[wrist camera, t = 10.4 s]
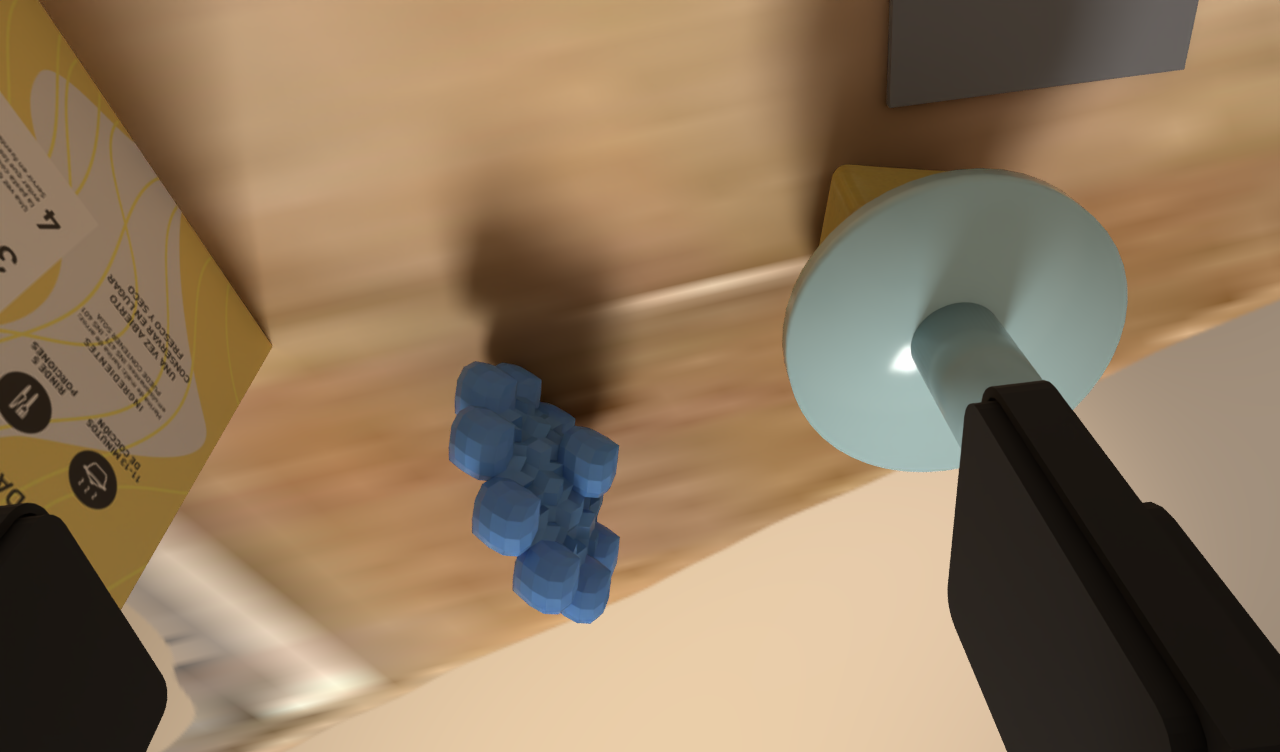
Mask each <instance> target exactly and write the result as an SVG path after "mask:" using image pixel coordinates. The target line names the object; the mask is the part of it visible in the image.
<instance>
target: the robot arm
mask: <svg viewBox="0 0 1280 752" xmlns="http://www.w3.org/2000/svg"><path fill="white" fill-rule="evenodd" d="M948 603H949V609H950V613H951V617H952V620H953V623H954V626H955V629H956V631H957V633H958V636H959V638H960V641H961V643H962V645H963V648H964V650H965V652H966V655H967V657H968V660H969V662H970V664H971V667H972V669H973V671H974V674H975V676H976V678H977V681H978V683H979V686H980V688H981V690H982V693H983V695H984V698H985V700H986V702H987V705H988V707H989V710H990V712H991V714H992V717H993V719H994V721H995V724H996V726H997V729H998V731H999V733H1000V736H1001V738H1002V741H1003V743H1004V745H1005V748H1006V750H1007V752H1280V654H1279V653H1278V652H1277V650H1276V649H1275V648H1274V646H1273V645H1272V644H1271V643H1270V642H1269V640H1268V639H1267V637H1266V636H1265V635H1264V634H1263V632H1262V631H1261V630H1260V629H1259V627H1258V626H1257V625H1256V623H1255V622H1254V621H1253V619H1252V618H1251V617H1250V616H1249V614H1248V613H1247V612H1246V611H1245V609H1244V608H1243V607H1242V605H1241V604H1240V603H1239V602H1238V600H1237V599H1236V598H1235V596H1234V595H1233V594H1232V593H1231V591H1230V590H1229V589H1228V587H1227V586H1226V585H1225V583H1224V582H1223V581H1222V580H1221V578H1220V577H1219V576H1218V574H1217V573H1216V572H1215V571H1214V569H1213V568H1212V567H1211V565H1210V564H1209V563H1208V562H1207V560H1206V559H1205V558H1204V556H1203V555H1202V554H1201V553H1200V551H1199V550H1198V549H1197V547H1196V546H1195V545H1194V544H1193V542H1192V541H1191V540H1190V538H1189V537H1188V536H1187V535H1186V533H1185V532H1184V531H1183V530H1182V528H1181V527H1180V526H1179V524H1178V523H1177V522H1176V520H1175V519H1174V518H1173V517H1172V516H1171V515H1170V514H1169V513H1168V512H1167V511H1166V510H1165V509H1164V508H1163V507H1161V506H1159V505H1156V504H1155V503H1152V502H1145V503H1142V502H1141V501H1140V499H1139V498H1138V496H1137V495H1136V494H1135V493H1134V491H1133V490H1132V489H1131V487H1130V486H1129V485H1128V483H1127V482H1126V480H1125V479H1124V478H1123V476H1122V475H1121V474H1120V473H1119V471H1118V470H1117V468H1116V467H1115V466H1114V464H1113V463H1112V462H1111V461H1110V459H1109V458H1108V457H1107V455H1106V454H1105V453H1104V451H1103V450H1102V448H1101V447H1100V446H1099V444H1098V443H1097V442H1096V441H1095V439H1094V438H1093V437H1092V435H1091V434H1090V433H1089V431H1088V430H1087V429H1086V428H1085V426H1084V425H1083V423H1082V422H1081V421H1080V419H1079V418H1078V417H1077V415H1076V414H1075V413H1074V411H1073V410H1072V409H1071V407H1070V406H1069V405H1068V403H1067V402H1066V401H1065V399H1064V398H1063V397H1062V395H1061V394H1060V393H1059V391H1058V390H1057V389H1056V387H1055V386H1054V385H1053V384H1052V383H1051V382H1049V381H1045V380H1040V381H1032V382H1024V383H1016V384H1007V385H999V386H991V387H988V388H987V389H986V390H985V391H984V393H983V396H982V401H981V402H979V403H971V404H969V405H968V406H967V408H966V410H965V415H964V424H963V434H962V444H961V455H960V465H959V476H958V486H957V496H956V507H955V517H954V527H953V537H952V548H951V559H950V569H949V579H948ZM166 703H167V687H166V683H165V680H164V678H163V675H162V674H161V672H160V671H159V669H158V668H157V666H156V665H155V663H154V661H153V660H152V658H151V657H150V655H149V654H148V652H147V651H146V649H145V648H144V646H143V645H142V643H141V641H140V640H139V638H138V637H137V635H136V633H135V632H134V630H133V629H132V627H131V626H130V624H129V623H128V621H127V619H126V618H125V616H124V615H123V613H122V612H121V610H120V608H119V607H118V605H117V604H116V602H115V601H114V599H113V598H112V596H111V594H110V593H109V591H108V590H107V588H106V587H105V585H104V583H103V582H102V580H101V579H100V577H99V576H98V574H97V573H96V571H95V569H94V568H93V566H92V565H91V563H90V562H89V560H88V559H87V557H86V555H85V554H84V552H83V551H82V549H81V548H80V546H79V545H78V543H77V541H76V540H75V538H74V537H73V535H72V534H71V532H70V530H69V529H68V527H67V526H66V524H65V523H64V522H63V521H62V520H61V518H59V517H57V516H55V515H50V514H49V513H48V512H47V511H46V510H45V509H44V508H43V507H41V506H39V505H37V504H36V503H20V504H12V505H4V506H0V752H146V750H147V748H148V746H149V744H150V742H151V740H152V738H153V735H154V733H155V731H156V729H157V727H158V725H159V723H160V720H161V718H162V716H163V714H164V711H165V708H166Z"/></svg>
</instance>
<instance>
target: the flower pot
mask: <svg viewBox="0 0 1280 752" xmlns="http://www.w3.org/2000/svg"><path fill="white" fill-rule="evenodd" d="M942 172H948V171H935V170H920V169H904V168H889V167H875V166H863V165H842V166H840V167H838V168H837V169H836V170H835V172H834V174H833V176H832V180H831V185H830V190H829V196H828V201H827V206H826V212H825V217H824V222H823V228H822V233H821V238H820V243H819V246H820V244H821V243H822V242H823V241H824V240H825V239H826V237H827V236H828V235H829V234H830V233H831V232H832V231H833V230H834V229H835V228H836V227H837V226H839V225H840V224H841V223H842V222H843V221H844V220H845V219H846V218H847V217H849V216H850V215H851V214H853V213H854V212H855V211H857V210H858V209H860V208H861V207H862V206H864V205H865V204H866V203H868V202H870V201H872V200H873V199H875V198H877V197H878V196H880V195H882V194H884V193H885V192H887V191H889V190H892V189H894V188H896V187H898V186H901V185H903V184H905V183H908V182H910V181H913V180H916V179H919V178H923V177H926V176H929V175H932V174H937V173H942Z"/></svg>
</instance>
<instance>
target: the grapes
mask: <svg viewBox="0 0 1280 752" xmlns="http://www.w3.org/2000/svg"><path fill="white" fill-rule="evenodd" d="M541 384H542V380H541V379H540V378H538V377H537V376H535V375H534V374H533V373H531V372H529V371H527V370H526V369H524V368H522V367H520V366H517V365H515V364H508V363H500V364H498V365H496V366H494V365H491V364H488V363H482V362H476V361H475V362H473V363H471V364H469V365H467V366H465V367H464V368H463V370H462V372H461V374H460V376H459V378H458V380H457V387H456V395H455V414H457V416H456V418H455V420H454V422H453V424H452V427H451V434H450V441H449V460H450V461H451V462H452V463H453V464H454V465H456V466H457V467H458V468H459V469H461V470H462V471H463V472H465V473H467V474H469V475H470V476H472V477H474V478H476V479H478V480H484V481H487V482H485V483H483V484H482V486H481V488H480V490H479V492H478V495H477V497H476V499H475V503H474V509H473V517H472V533H473V534H474V535H475V536H476V537H477V538H479V539H480V540H481V541H482V542H483V543H484V544H485V545H486V546H488V547H489V548H491V549H493V550H494V551H496V552H498V553H500V554H502V555H506V556H517V559H516V561H515V566H514V574H513V591H514V592H515V593H516V594H517V595H518V596H519V597H521V598H522V599H523V600H524V601H525V602H526V603H527V604H528V605H529V606H531V607H533V608H535V609H536V610H538V611H540V612H542V613H544V614H559V613H561V614H562V615H564V616H565V617H567V618H569V619H571V620H573V621H574V622H576V623H588V624H590V623H591V622H593V621H594V620H595V619H597V618H598V617H599V616H600V615H601V614H602V613H603V612H604V609H605V607H606V604H607V601H608V599H609V592H610V584H611V576H612V574H613V571H614V569H615V566H616V564H617V557H618V550H619V539H620V537H619V536H617V535H616V534H615V533H614V532H612V531H611V530H610V529H608V528H607V527H605V526H603V525H602V524H600V523H598V522H597V515H598V512H599V510H600V507H601V505H602V501H603V494H604V493H606V492H607V491H608V490H609V488H610V487H611V484H612V482H613V479H614V477H615V474H616V469H617V461H618V451H619V445H617V444H616V443H615V442H613V441H612V440H610V439H609V438H608V437H606V436H604V435H602V434H600V433H598V432H597V431H595V430H592V429H590V428H587V427H580V426H575V418H574V417H572V416H571V415H570V414H568V413H567V412H565V411H564V410H562V409H560V408H558V407H556V406H554V405H552V404H550V403H546V402H540V397H541Z"/></svg>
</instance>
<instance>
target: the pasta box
mask: <svg viewBox="0 0 1280 752" xmlns="http://www.w3.org/2000/svg"><path fill="white" fill-rule="evenodd" d="M271 348H272V345H271V343H270V342H269V340H268V339H267V337H266V336H265V335H264V333H263V332H262V330H261V329H260V327H259V326H258V324H257V323H256V321H255V320H254V318H253V317H252V315H251V314H250V312H249V311H248V309H247V308H246V306H245V305H244V303H243V302H242V301H241V299H240V298H239V296H238V295H237V293H236V292H235V290H234V289H233V287H232V286H231V284H230V283H229V281H228V280H227V278H226V277H225V275H224V274H223V272H222V271H221V269H220V268H219V267H218V265H217V264H216V262H215V261H214V259H213V258H212V256H211V255H210V253H209V252H208V250H207V249H206V247H205V246H204V244H203V243H202V241H201V240H200V238H199V237H198V235H197V234H196V233H195V231H194V230H193V228H192V227H191V225H190V224H189V222H188V221H187V219H186V218H185V216H184V215H183V213H182V212H181V210H180V209H179V207H178V206H177V204H176V203H175V201H174V200H173V199H172V197H171V196H170V194H169V193H168V191H167V190H166V188H165V187H164V185H163V184H162V182H161V181H160V179H159V178H158V176H157V175H156V173H155V172H154V170H153V169H152V167H151V166H150V165H149V163H148V162H147V160H146V159H145V157H144V156H143V154H142V153H141V151H140V150H139V148H138V147H137V145H136V144H135V142H134V141H133V139H132V138H131V136H130V135H129V133H128V132H127V131H126V129H125V128H124V126H123V125H122V123H121V122H120V120H119V119H118V117H117V116H116V114H115V113H114V111H113V110H112V108H111V107H110V105H109V104H108V102H107V101H106V99H105V98H104V97H103V95H102V94H101V92H100V91H99V89H98V88H97V86H96V85H95V83H94V82H93V80H92V79H91V77H90V76H89V74H88V73H87V71H86V70H85V68H84V67H83V65H82V64H81V63H80V61H79V60H78V58H77V57H76V55H75V54H74V52H73V51H72V49H71V48H70V46H69V45H68V43H67V42H66V40H65V39H64V37H63V36H62V34H61V33H60V31H59V30H58V29H57V27H56V26H55V24H54V23H53V21H52V20H51V18H50V17H49V15H48V14H47V12H46V11H45V9H44V8H43V6H42V5H41V3H40V2H39V0H0V506H4V505H12V504H20V503H36V504H37V505H39V506H41V507H43V508H44V509H45V510H46V511H47V512H48V513H49V514H50V515H55V516H57V517H59V518H61V520H62V521H63V522H64V523H65V524H66V526H67V527H68V529H69V530H70V532H71V534H72V535H73V537H74V538H75V540H76V541H77V543H78V545H79V546H80V548H81V549H82V551H83V552H84V554H85V555H86V557H87V559H88V560H89V562H90V563H91V565H92V566H93V568H94V569H95V571H96V573H97V574H98V576H99V577H100V579H101V580H102V582H103V583H104V585H105V587H106V588H107V590H108V591H109V593H110V594H111V596H112V598H113V599H114V601H115V602H116V604H117V605H118V607H119V608H120V610H121V609H122V607H123V605H124V604H125V602H126V600H127V598H128V597H129V595H130V593H131V591H132V590H133V588H134V586H135V584H136V583H137V581H138V579H139V577H140V576H141V574H142V572H143V571H144V569H145V567H146V565H147V564H148V562H149V560H150V558H151V557H152V555H153V553H154V551H155V550H156V548H157V546H158V544H159V543H160V541H161V539H162V538H163V536H164V534H165V532H166V531H167V529H168V527H169V525H170V524H171V522H172V520H173V518H174V517H175V515H176V513H177V511H178V510H179V508H180V506H181V505H182V503H183V501H184V499H185V498H186V496H187V494H188V492H189V491H190V489H191V487H192V485H193V484H194V482H195V480H196V478H197V477H198V475H199V473H200V471H201V470H202V468H203V466H204V465H205V463H206V461H207V459H208V458H209V456H210V454H211V452H212V451H213V449H214V447H215V445H216V444H217V442H218V440H219V438H220V437H221V435H222V433H223V432H224V430H225V428H226V426H227V425H228V423H229V421H230V419H231V418H232V416H233V414H234V412H235V411H236V409H237V407H238V405H239V404H240V402H241V400H242V399H243V397H244V395H245V393H246V392H247V390H248V388H249V386H250V385H251V383H252V381H253V379H254V378H255V376H256V374H257V372H258V371H259V369H260V367H261V366H262V364H263V362H264V360H265V359H266V357H267V355H268V353H269V352H270V350H271Z"/></svg>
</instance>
